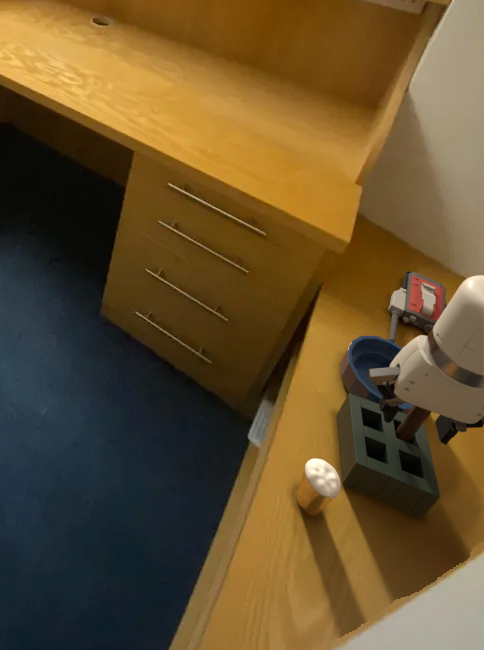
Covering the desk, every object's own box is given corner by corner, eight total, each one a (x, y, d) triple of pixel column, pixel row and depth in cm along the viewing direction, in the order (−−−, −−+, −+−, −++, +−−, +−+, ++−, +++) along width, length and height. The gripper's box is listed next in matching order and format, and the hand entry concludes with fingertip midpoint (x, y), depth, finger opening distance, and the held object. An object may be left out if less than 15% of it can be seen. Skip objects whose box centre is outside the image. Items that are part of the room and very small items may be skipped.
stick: (395, 450, 81) (431, 401, 74) (397, 463, 80) (434, 414, 73) (381, 444, 82) (416, 395, 75) (383, 457, 81) (418, 408, 73)
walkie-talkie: (393, 270, 110) (382, 343, 97) (400, 256, 108) (390, 329, 94) (442, 291, 106) (438, 371, 92) (450, 277, 104) (448, 357, 90)
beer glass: (298, 525, 73) (317, 495, 68) (287, 480, 78) (304, 449, 73) (331, 531, 73) (352, 501, 68) (318, 485, 78) (337, 454, 73)
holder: (407, 442, 82) (424, 420, 79) (421, 518, 74) (440, 497, 71) (336, 414, 86) (348, 392, 82) (342, 484, 78) (356, 462, 74)
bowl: (411, 368, 92) (422, 351, 90) (426, 439, 83) (439, 422, 80) (336, 342, 97) (345, 325, 94) (342, 407, 87) (352, 390, 84)
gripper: (532, 353, 67) (474, 422, 76) (382, 307, 73) (344, 375, 82) (556, 411, 61) (490, 478, 70) (391, 355, 67) (349, 423, 76)
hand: (412, 422), depth 76 cm, fingers open, 6 cm apart
